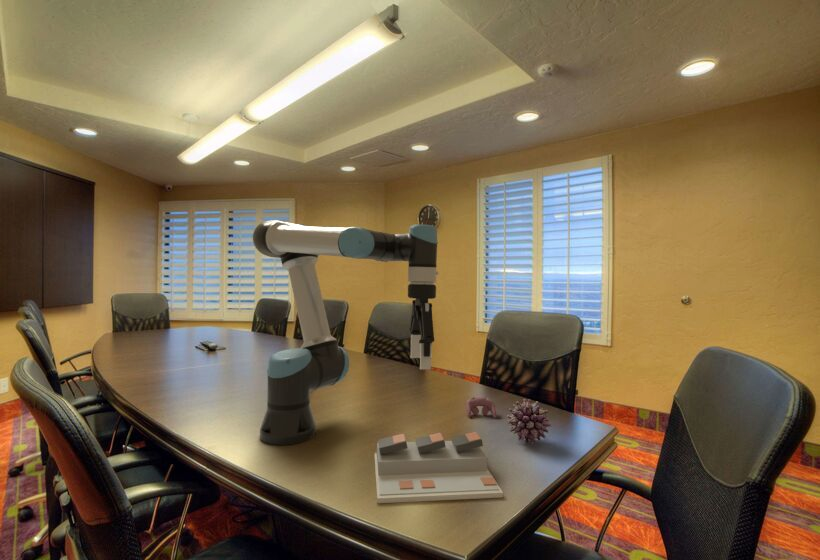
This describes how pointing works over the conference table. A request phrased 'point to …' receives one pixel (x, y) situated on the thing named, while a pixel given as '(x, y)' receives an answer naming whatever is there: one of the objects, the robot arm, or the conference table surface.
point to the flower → (528, 421)
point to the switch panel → (433, 475)
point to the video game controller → (480, 401)
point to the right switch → (466, 441)
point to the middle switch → (430, 442)
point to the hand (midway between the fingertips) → (420, 363)
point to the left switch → (392, 444)
